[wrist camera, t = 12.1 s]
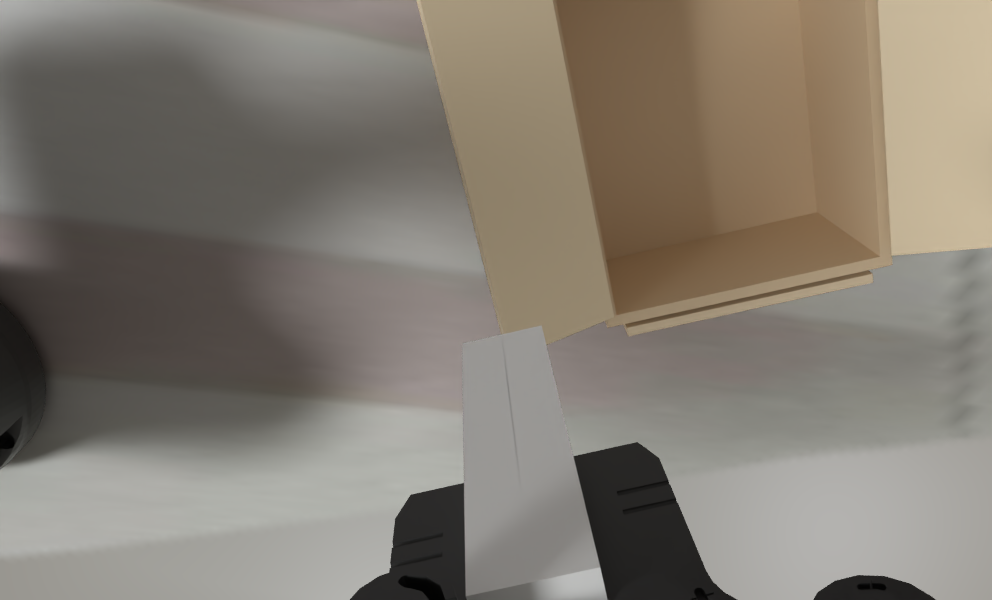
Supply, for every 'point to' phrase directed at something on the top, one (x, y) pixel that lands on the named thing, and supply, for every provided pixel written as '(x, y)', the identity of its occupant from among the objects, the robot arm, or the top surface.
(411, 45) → the top surface
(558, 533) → the robot arm
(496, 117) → the flap
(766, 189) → the carton
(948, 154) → the flap
